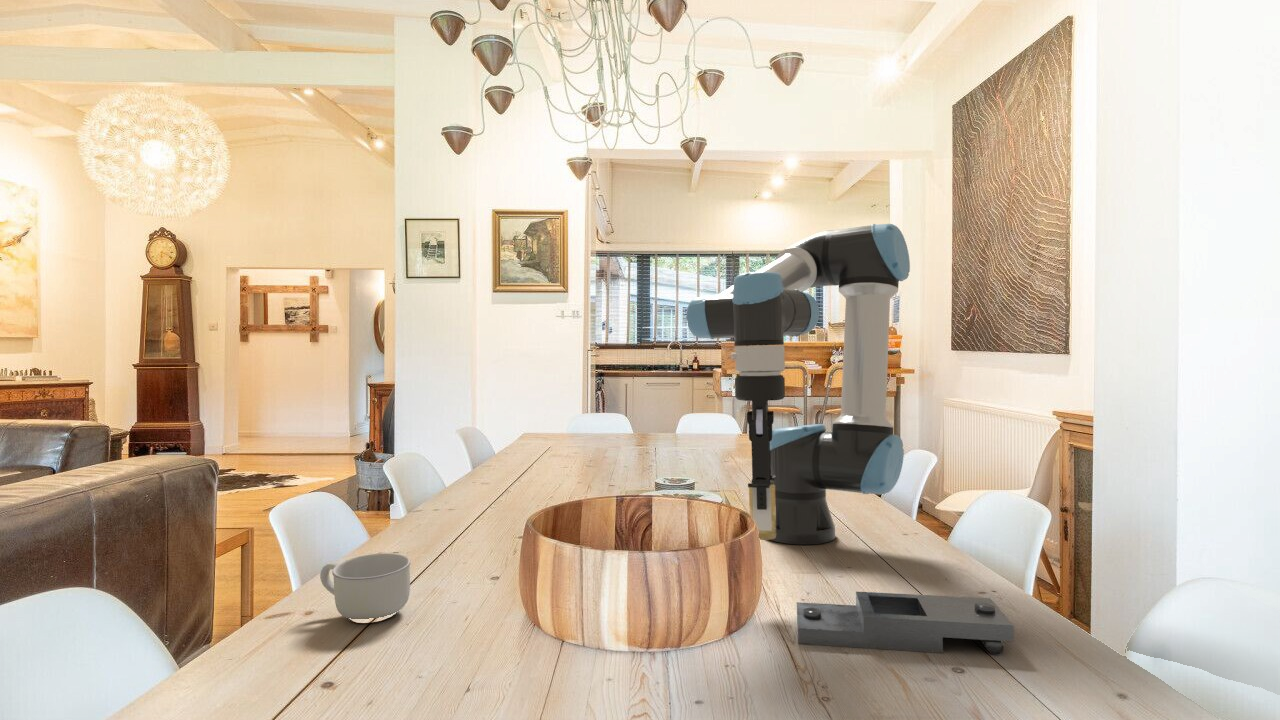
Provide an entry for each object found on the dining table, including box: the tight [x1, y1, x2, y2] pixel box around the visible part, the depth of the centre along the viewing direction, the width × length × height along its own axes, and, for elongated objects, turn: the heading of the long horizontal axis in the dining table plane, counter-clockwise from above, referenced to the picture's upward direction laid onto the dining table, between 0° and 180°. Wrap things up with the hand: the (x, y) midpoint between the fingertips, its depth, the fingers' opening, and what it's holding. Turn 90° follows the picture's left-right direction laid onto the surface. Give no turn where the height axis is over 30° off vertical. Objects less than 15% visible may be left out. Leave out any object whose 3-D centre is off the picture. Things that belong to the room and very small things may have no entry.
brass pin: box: [748, 483, 776, 541], centre depth 108 cm, size 4×4×8 cm
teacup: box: [319, 552, 411, 619], centre depth 105 cm, size 14×11×8 cm
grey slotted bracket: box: [796, 591, 1015, 656], centre depth 94 cm, size 10×26×5 cm, turn 78°
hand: (762, 526), depth 108 cm, fingers closed on brass pin, 3 cm apart
